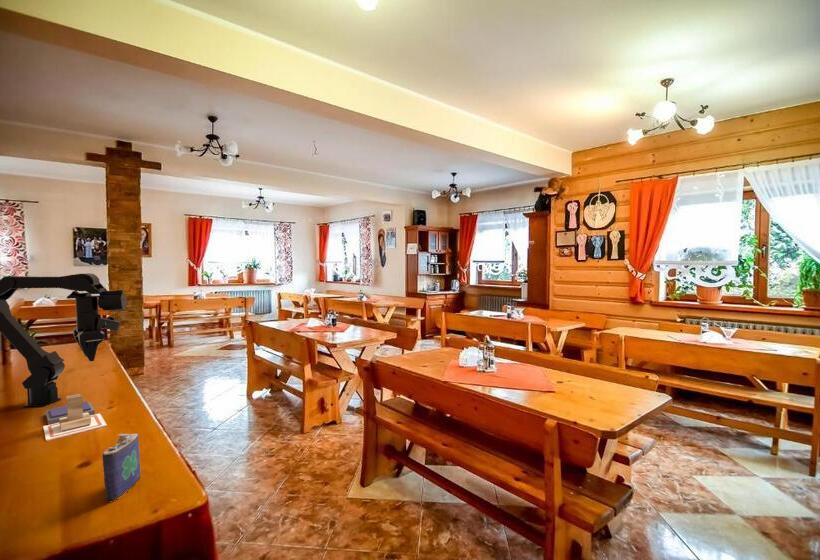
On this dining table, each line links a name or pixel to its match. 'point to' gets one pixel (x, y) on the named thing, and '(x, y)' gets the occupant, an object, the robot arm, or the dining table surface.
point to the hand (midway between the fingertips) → (89, 358)
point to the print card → (55, 429)
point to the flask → (121, 466)
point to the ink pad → (61, 412)
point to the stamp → (74, 414)
